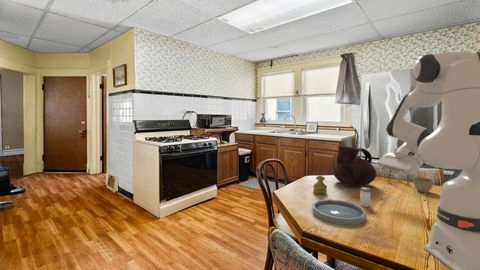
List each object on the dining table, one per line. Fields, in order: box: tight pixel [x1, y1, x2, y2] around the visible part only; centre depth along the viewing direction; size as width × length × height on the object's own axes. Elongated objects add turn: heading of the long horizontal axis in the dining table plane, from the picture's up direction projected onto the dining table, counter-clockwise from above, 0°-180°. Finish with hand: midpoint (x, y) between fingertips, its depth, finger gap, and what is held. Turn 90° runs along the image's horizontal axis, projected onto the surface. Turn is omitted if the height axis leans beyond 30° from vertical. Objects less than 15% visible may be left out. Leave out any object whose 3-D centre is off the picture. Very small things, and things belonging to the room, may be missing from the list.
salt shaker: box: [312, 175, 328, 196], centre depth 138 cm, size 7×8×10 cm
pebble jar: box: [359, 186, 372, 208], centre depth 120 cm, size 5×5×8 cm
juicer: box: [388, 138, 410, 186], centre depth 156 cm, size 10×11×30 cm
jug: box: [332, 145, 377, 187], centre depth 154 cm, size 25×25×25 cm
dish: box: [311, 198, 367, 226], centre depth 110 cm, size 22×22×2 cm
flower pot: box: [412, 176, 435, 194], centre depth 142 cm, size 10×10×7 cm
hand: (387, 175), depth 122 cm, fingers open, 8 cm apart
